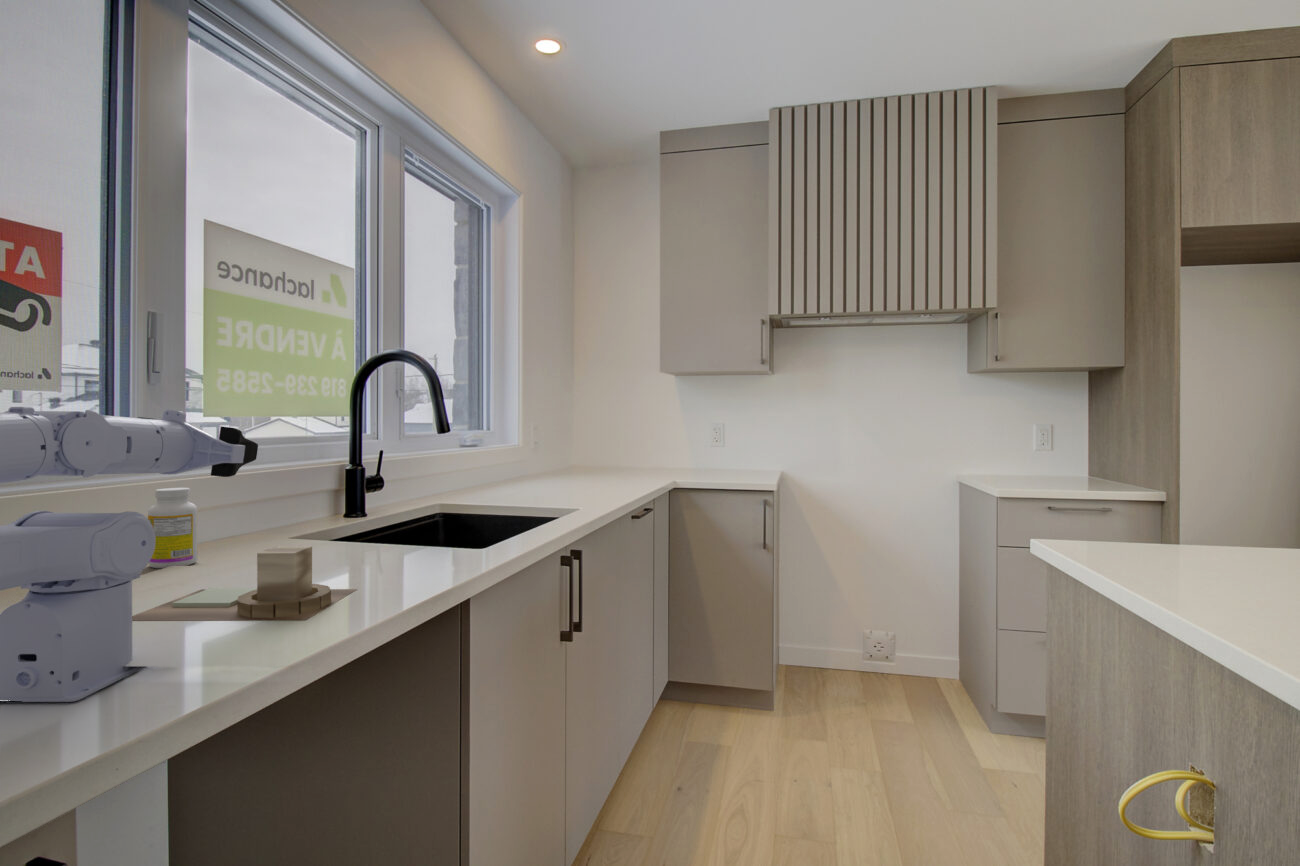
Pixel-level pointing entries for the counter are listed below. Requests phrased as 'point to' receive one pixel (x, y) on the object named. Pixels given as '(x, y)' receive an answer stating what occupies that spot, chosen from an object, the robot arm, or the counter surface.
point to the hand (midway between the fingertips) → (223, 448)
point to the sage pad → (213, 598)
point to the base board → (221, 611)
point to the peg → (284, 573)
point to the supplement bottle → (173, 528)
